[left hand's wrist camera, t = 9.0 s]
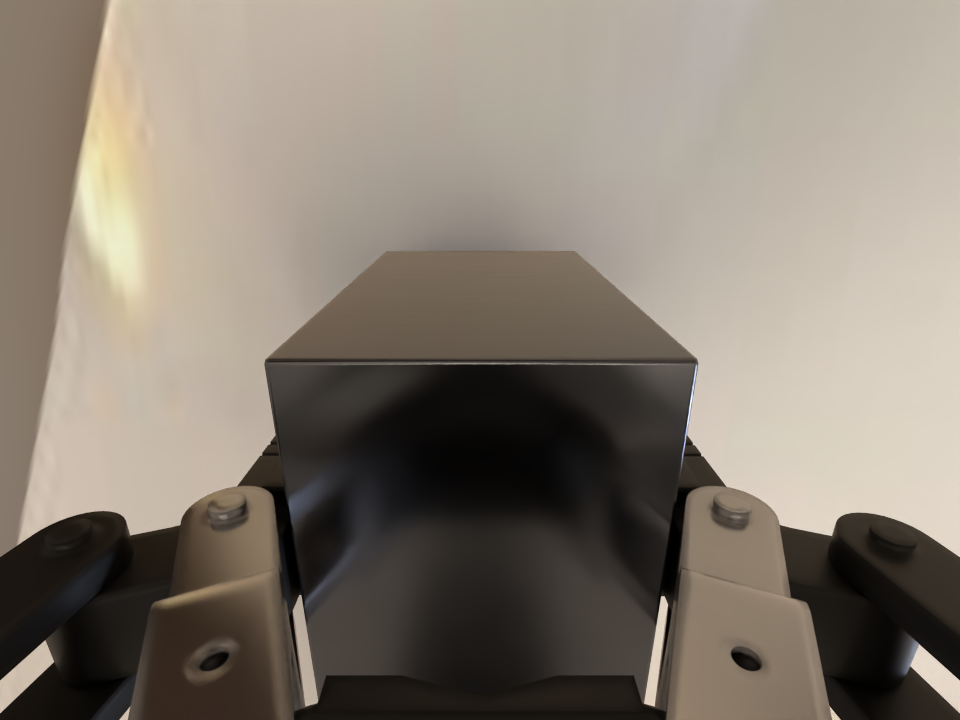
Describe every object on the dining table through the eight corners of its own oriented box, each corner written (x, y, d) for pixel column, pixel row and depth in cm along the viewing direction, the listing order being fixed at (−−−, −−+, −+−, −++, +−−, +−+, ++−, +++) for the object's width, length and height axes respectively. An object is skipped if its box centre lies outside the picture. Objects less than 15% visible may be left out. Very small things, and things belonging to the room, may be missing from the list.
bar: (385, 250, 15) (261, 360, 7) (576, 250, 15) (701, 360, 7) (418, 766, 23) (383, 1113, 15) (543, 766, 23) (579, 1112, 15)
